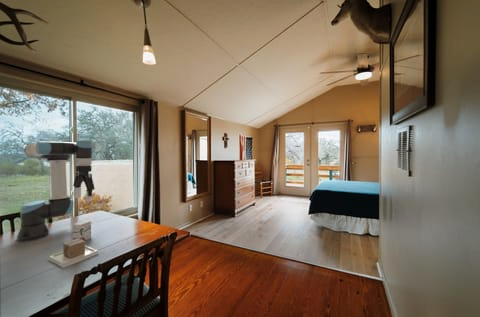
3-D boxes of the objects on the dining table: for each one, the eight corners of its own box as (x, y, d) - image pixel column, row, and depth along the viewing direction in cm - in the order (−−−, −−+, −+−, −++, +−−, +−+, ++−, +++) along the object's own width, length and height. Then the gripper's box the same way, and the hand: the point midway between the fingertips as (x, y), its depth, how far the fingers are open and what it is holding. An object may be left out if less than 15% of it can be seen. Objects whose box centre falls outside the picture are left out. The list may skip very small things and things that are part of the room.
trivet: (48, 259, 107) (48, 256, 107) (83, 247, 121) (83, 244, 121) (63, 267, 99) (63, 264, 99) (98, 253, 114) (98, 250, 114)
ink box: (78, 243, 126) (78, 224, 126) (72, 242, 127) (72, 224, 127) (91, 237, 135) (91, 220, 135) (85, 236, 136) (85, 219, 136)
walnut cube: (63, 255, 109) (63, 243, 108) (78, 250, 115) (78, 238, 115) (69, 259, 105) (69, 246, 105) (84, 253, 112) (84, 241, 112)
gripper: (66, 164, 123) (66, 197, 124) (87, 166, 111) (86, 204, 112) (81, 163, 130) (80, 195, 131) (101, 166, 118) (101, 201, 119)
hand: (83, 199), depth 121 cm, fingers open, 13 cm apart
